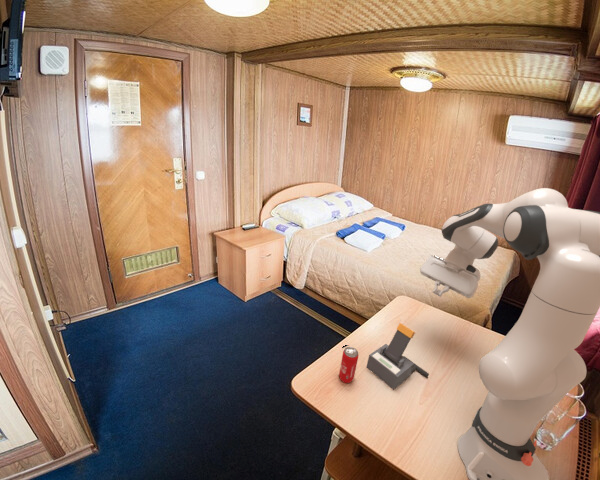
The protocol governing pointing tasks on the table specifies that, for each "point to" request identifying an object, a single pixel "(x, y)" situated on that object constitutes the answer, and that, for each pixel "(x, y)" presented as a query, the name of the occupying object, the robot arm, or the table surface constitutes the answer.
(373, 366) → the breaker housing
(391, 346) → the breaker lever
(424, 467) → the table surface
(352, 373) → the beverage can
